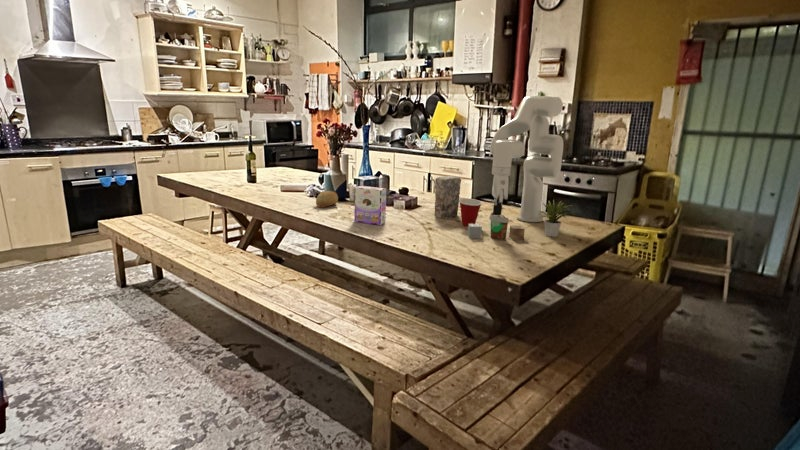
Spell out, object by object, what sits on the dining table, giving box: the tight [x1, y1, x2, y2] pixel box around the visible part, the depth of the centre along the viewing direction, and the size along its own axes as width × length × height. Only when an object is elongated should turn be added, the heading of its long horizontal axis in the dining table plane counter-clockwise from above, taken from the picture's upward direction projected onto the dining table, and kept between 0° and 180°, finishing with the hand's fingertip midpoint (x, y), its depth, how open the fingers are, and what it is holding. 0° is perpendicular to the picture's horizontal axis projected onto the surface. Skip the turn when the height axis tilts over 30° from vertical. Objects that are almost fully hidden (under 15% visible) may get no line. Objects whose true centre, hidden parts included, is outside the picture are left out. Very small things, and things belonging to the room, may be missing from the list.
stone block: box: [434, 175, 462, 220], centre depth 228 cm, size 13×7×20 cm, turn 137°
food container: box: [488, 211, 510, 241], centre depth 195 cm, size 12×6×10 cm, turn 5°
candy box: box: [353, 185, 387, 226], centre depth 211 cm, size 14×6×16 cm, turn 65°
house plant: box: [540, 198, 573, 238], centre depth 200 cm, size 14×14×16 cm
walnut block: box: [508, 224, 526, 241], centre depth 195 cm, size 5×5×5 cm
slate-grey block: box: [467, 223, 483, 239], centre depth 195 cm, size 5×5×5 cm
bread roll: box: [315, 190, 339, 208], centre depth 244 cm, size 10×15×8 cm, turn 155°
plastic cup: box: [459, 197, 483, 228], centre depth 212 cm, size 11×11×12 cm
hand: (497, 214), depth 193 cm, fingers closed
